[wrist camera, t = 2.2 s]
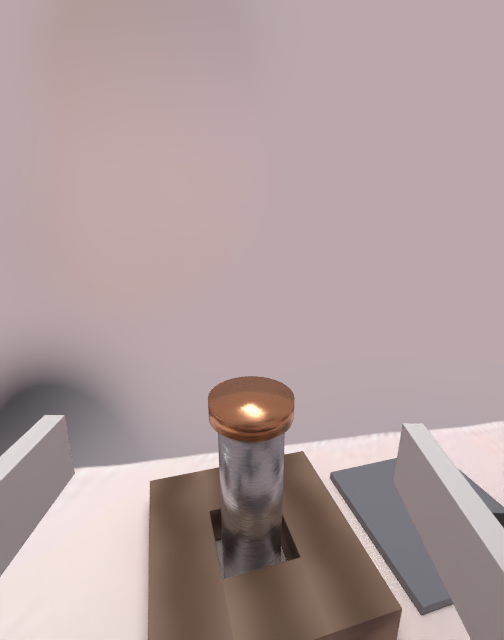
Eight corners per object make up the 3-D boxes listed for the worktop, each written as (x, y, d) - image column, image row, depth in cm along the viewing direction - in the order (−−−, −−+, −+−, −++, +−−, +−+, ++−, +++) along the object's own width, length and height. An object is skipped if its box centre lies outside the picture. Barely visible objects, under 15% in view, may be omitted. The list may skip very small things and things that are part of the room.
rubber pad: (434, 455, 41) (435, 449, 41) (560, 564, 29) (563, 557, 28) (330, 478, 38) (330, 472, 38) (421, 615, 25) (423, 607, 25)
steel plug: (274, 525, 32) (277, 372, 27) (298, 590, 27) (308, 412, 22) (210, 541, 31) (202, 382, 26) (223, 613, 25) (216, 428, 20)
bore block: (301, 477, 38) (302, 451, 37) (395, 644, 23) (402, 608, 22) (153, 509, 34) (149, 481, 33) (153, 736, 19) (147, 698, 18)
